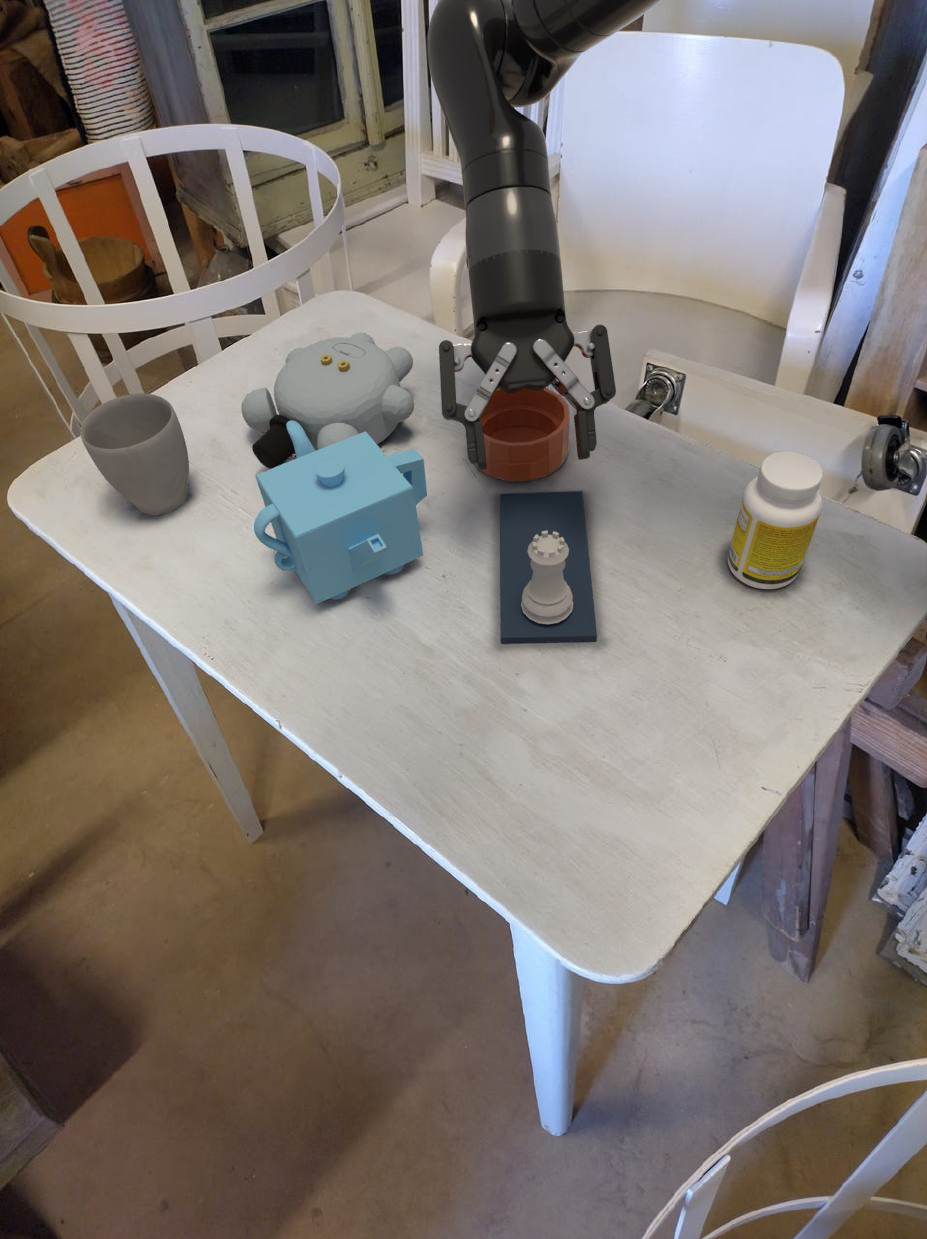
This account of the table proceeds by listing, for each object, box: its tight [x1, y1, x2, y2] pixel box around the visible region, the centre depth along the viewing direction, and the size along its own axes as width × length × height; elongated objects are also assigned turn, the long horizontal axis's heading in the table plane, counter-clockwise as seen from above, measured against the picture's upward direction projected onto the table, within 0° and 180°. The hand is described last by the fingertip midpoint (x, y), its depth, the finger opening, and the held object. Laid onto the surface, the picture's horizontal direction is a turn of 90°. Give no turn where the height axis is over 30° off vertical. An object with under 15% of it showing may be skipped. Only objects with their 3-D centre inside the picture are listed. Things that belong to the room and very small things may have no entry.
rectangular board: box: [499, 490, 598, 644], centre depth 74 cm, size 18×8×1 cm, turn 179°
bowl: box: [474, 387, 571, 483], centre depth 83 cm, size 10×10×5 cm
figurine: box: [240, 332, 415, 470], centre depth 86 cm, size 17×8×20 cm
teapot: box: [253, 421, 428, 605], centre depth 72 cm, size 16×18×11 cm
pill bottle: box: [727, 451, 824, 590], centre depth 68 cm, size 6×6×11 cm
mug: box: [79, 393, 190, 516], centre depth 81 cm, size 12×9×10 cm
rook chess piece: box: [521, 530, 573, 625], centre depth 67 cm, size 4×4×8 cm
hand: (533, 463), depth 68 cm, fingers open, 8 cm apart
